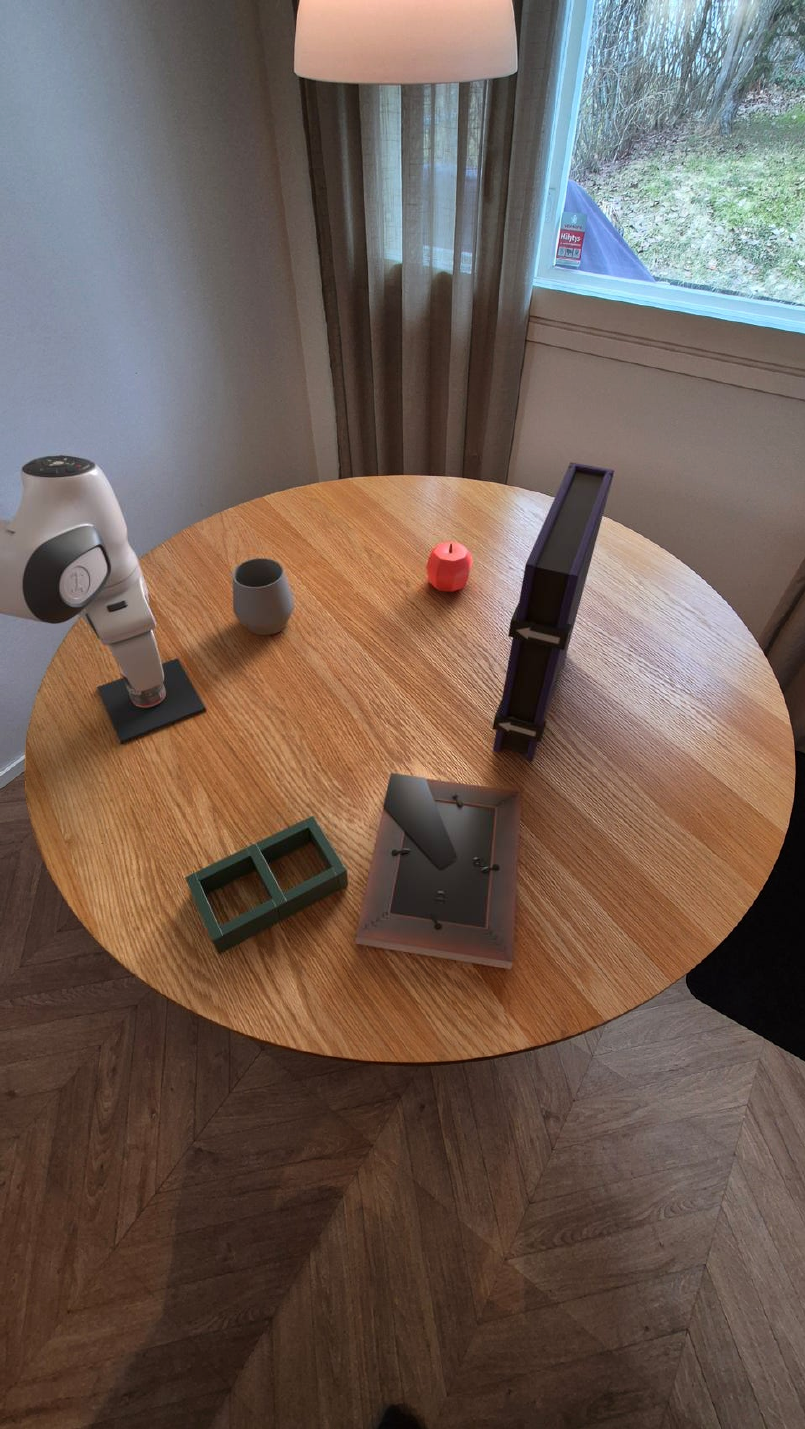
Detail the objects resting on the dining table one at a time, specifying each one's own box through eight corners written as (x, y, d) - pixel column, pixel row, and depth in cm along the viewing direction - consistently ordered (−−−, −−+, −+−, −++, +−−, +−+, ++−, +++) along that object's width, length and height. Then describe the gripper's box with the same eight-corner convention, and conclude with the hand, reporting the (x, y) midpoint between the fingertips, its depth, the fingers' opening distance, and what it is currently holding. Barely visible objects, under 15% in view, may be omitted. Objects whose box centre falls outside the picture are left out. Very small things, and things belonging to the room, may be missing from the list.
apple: (466, 568, 117) (470, 529, 111) (475, 596, 112) (480, 556, 106) (421, 572, 116) (423, 532, 110) (429, 600, 111) (431, 559, 105)
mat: (121, 744, 89) (119, 741, 89) (98, 689, 96) (96, 686, 96) (206, 710, 93) (205, 707, 93) (178, 660, 100) (177, 657, 100)
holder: (218, 954, 70) (211, 941, 67) (191, 892, 75) (184, 877, 72) (348, 885, 76) (347, 870, 73) (315, 831, 80) (313, 815, 78)
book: (529, 643, 104) (566, 461, 81) (569, 653, 102) (618, 470, 80) (488, 752, 89) (520, 565, 67) (534, 766, 87) (582, 579, 65)
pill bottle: (125, 697, 94) (106, 653, 88) (153, 680, 96) (137, 635, 90) (144, 713, 92) (127, 668, 86) (173, 695, 94) (157, 650, 88)
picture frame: (390, 784, 85) (355, 945, 71) (390, 772, 83) (354, 935, 69) (519, 802, 83) (510, 970, 69) (522, 790, 82) (513, 961, 67)
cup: (287, 647, 103) (278, 595, 95) (229, 640, 103) (216, 588, 96) (303, 609, 109) (297, 557, 101) (249, 602, 110) (238, 551, 102)
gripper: (60, 552, 85) (96, 634, 95) (102, 644, 73) (137, 726, 83) (110, 538, 87) (139, 620, 97) (158, 625, 75) (186, 707, 86)
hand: (139, 670), depth 90 cm, fingers closed on pill bottle, 5 cm apart
